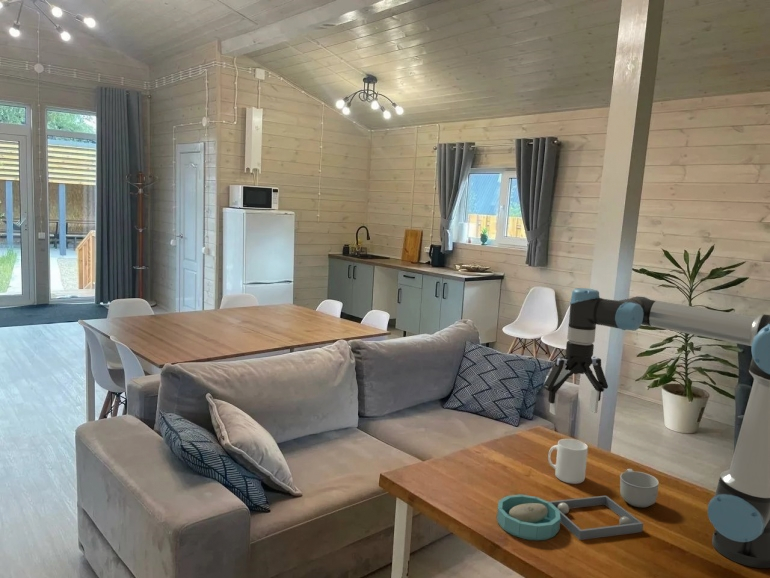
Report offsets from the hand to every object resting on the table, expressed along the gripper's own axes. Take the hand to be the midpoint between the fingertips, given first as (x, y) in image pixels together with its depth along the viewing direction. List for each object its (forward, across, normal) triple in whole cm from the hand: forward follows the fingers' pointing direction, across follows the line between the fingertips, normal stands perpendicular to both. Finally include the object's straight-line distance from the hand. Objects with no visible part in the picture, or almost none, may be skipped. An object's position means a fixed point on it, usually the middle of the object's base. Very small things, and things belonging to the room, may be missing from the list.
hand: (573, 412), depth 173 cm
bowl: (+29, +17, +8) cm, 34 cm away
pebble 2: (+29, -10, +15) cm, 34 cm away
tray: (+29, -3, +10) cm, 31 cm away
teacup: (+29, -24, +2) cm, 38 cm away
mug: (+29, -11, -16) cm, 35 cm away
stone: (+28, +17, +8) cm, 34 cm away
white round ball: (+29, +4, +5) cm, 29 cm away
